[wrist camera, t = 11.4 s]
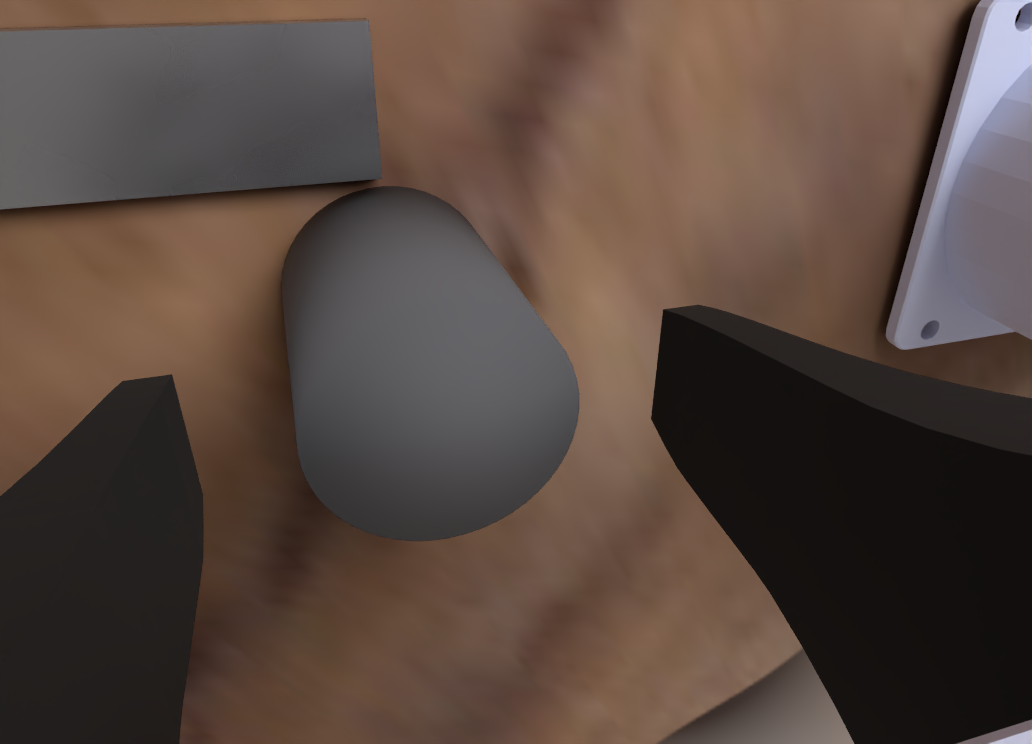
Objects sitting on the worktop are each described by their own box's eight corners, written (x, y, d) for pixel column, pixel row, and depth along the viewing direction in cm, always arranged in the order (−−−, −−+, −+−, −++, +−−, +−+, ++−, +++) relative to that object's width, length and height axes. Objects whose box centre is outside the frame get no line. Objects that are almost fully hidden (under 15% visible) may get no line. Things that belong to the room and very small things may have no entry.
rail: (365, 18, 12) (368, 20, 12) (378, 172, 14) (382, 178, 13) (-518, 42, 10) (-546, 46, 9) (-400, 234, 11) (-421, 242, 11)
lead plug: (489, 179, 14) (587, 283, 10) (488, 365, 16) (571, 515, 12) (266, 193, 13) (277, 316, 9) (295, 391, 15) (314, 563, 11)
